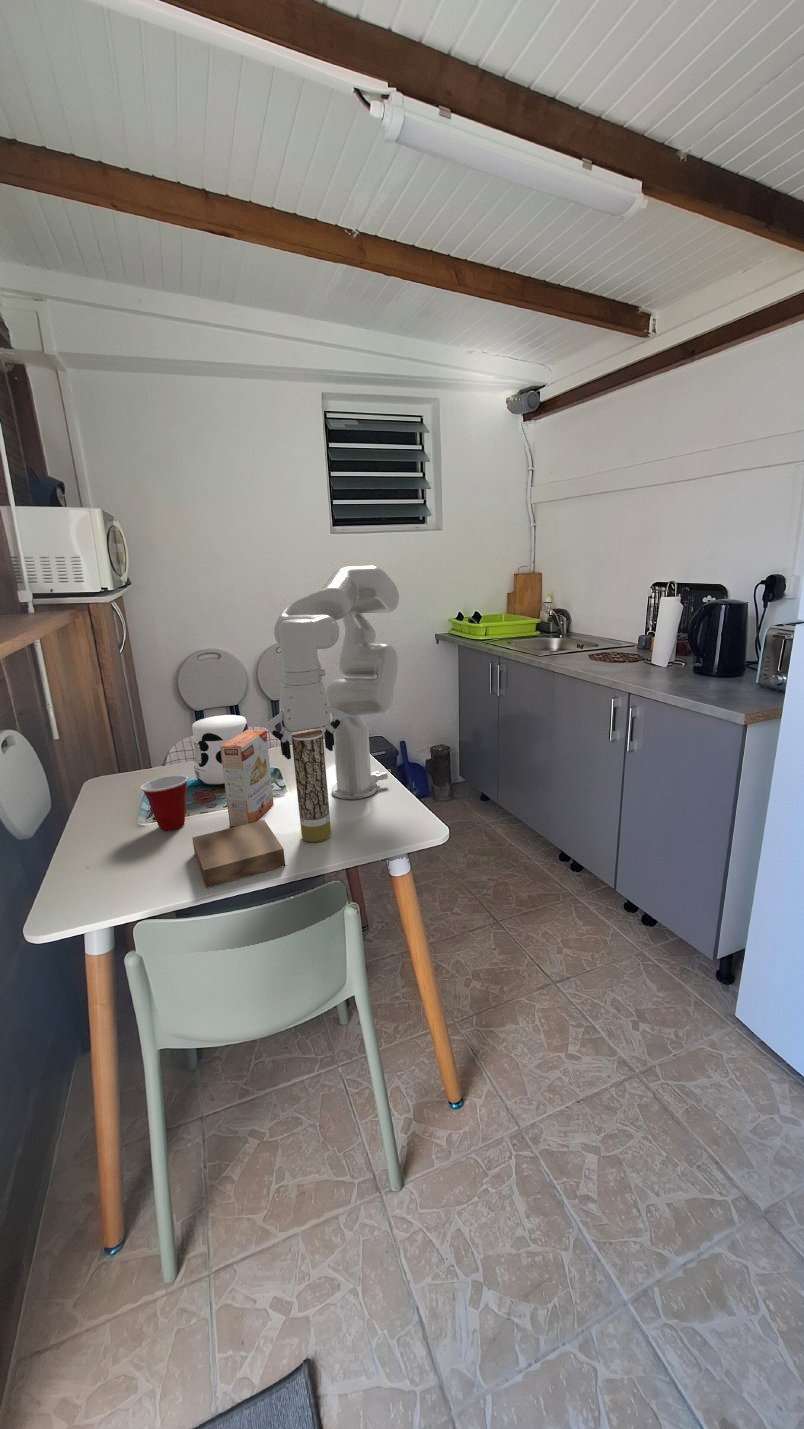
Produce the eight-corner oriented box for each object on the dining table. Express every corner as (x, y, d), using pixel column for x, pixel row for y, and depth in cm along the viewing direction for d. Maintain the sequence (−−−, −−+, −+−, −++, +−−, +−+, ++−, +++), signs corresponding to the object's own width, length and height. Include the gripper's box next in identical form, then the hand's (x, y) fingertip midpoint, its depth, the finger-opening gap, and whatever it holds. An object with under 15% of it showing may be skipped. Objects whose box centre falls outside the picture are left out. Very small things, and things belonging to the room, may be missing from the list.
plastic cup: (183, 812, 145) (177, 769, 142) (202, 824, 137) (195, 779, 134) (141, 827, 138) (132, 782, 135) (158, 840, 130) (150, 793, 127)
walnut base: (266, 835, 130) (264, 819, 129) (285, 865, 117) (283, 848, 116) (194, 853, 123) (192, 837, 122) (206, 888, 110) (203, 870, 109)
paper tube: (307, 846, 124) (296, 740, 118) (298, 834, 130) (287, 732, 124) (335, 838, 127) (326, 734, 121) (325, 827, 133) (316, 727, 127)
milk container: (266, 770, 173) (260, 714, 168) (238, 792, 157) (230, 731, 152) (216, 767, 177) (209, 713, 172) (184, 789, 161) (175, 729, 156)
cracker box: (251, 828, 134) (241, 746, 129) (229, 827, 136) (217, 745, 130) (275, 804, 148) (267, 728, 142) (254, 803, 149) (245, 728, 143)
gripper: (333, 670, 126) (339, 742, 130) (257, 680, 118) (265, 756, 123) (345, 675, 119) (351, 750, 124) (266, 686, 112) (274, 766, 116)
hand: (308, 753), depth 123 cm, fingers open, 9 cm apart
